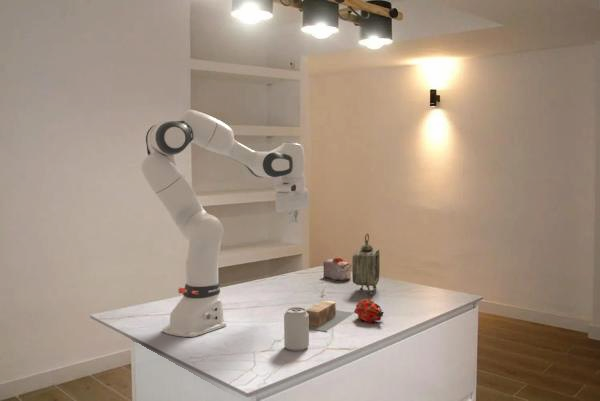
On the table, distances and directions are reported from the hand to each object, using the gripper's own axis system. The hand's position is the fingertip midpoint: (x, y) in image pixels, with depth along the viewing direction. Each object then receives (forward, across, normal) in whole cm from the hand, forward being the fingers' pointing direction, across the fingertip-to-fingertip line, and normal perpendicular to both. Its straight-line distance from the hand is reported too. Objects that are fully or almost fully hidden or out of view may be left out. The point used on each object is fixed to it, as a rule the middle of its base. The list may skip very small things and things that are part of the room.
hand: (293, 222), depth 212 cm
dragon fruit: (+33, +3, +31) cm, 46 cm away
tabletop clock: (+33, -36, +15) cm, 51 cm away
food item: (+34, -54, -6) cm, 64 cm away
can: (+33, +37, +21) cm, 54 cm away
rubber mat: (+33, +8, +16) cm, 38 cm away
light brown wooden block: (+30, +3, +16) cm, 34 cm away
